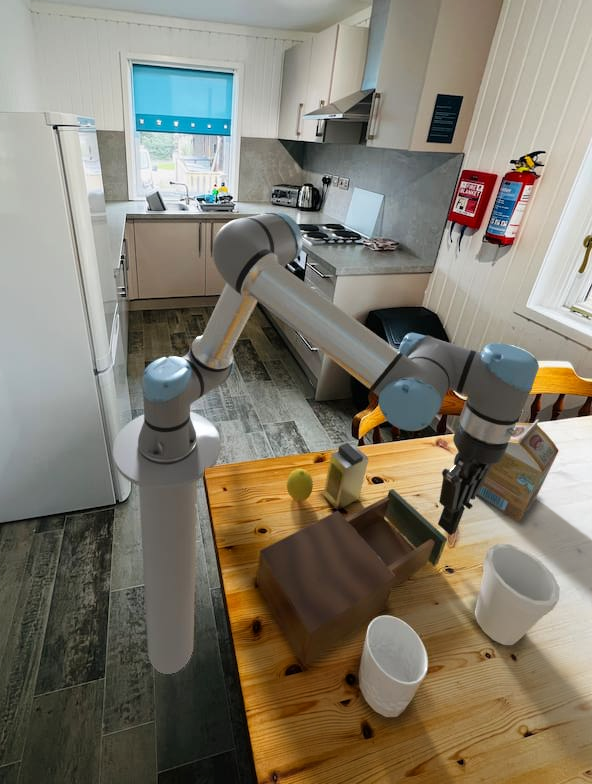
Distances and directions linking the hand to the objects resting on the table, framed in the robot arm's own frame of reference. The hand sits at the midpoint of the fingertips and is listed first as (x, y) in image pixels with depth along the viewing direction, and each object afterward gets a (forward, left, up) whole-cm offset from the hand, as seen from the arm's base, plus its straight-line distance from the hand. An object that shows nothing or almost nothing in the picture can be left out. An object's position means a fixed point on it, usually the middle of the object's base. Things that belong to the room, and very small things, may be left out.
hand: (446, 528), depth 76 cm
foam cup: (+13, -3, -6) cm, 15 cm away
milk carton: (-2, +26, -6) cm, 26 cm away
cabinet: (-4, -27, -6) cm, 28 cm away
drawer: (-4, -12, -5) cm, 13 cm away
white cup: (+10, -27, -6) cm, 30 cm away
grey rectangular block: (-18, -9, -6) cm, 21 cm away
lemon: (-22, -18, -6) cm, 29 cm away
